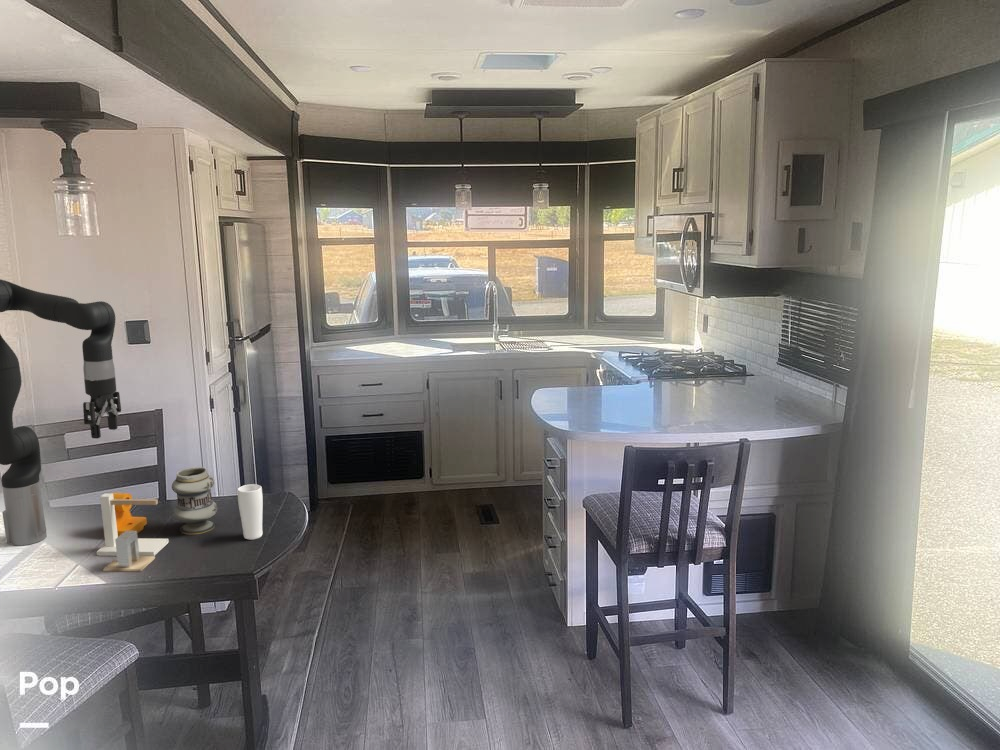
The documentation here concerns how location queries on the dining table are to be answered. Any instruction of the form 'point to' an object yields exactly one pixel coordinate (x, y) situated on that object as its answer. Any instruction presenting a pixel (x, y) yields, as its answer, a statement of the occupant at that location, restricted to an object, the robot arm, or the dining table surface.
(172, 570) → the dining table surface
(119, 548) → the c link
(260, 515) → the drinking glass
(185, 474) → the apothecary jar
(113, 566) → the cork mat
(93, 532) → the dining table surface
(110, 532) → the stand
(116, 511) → the bracket
